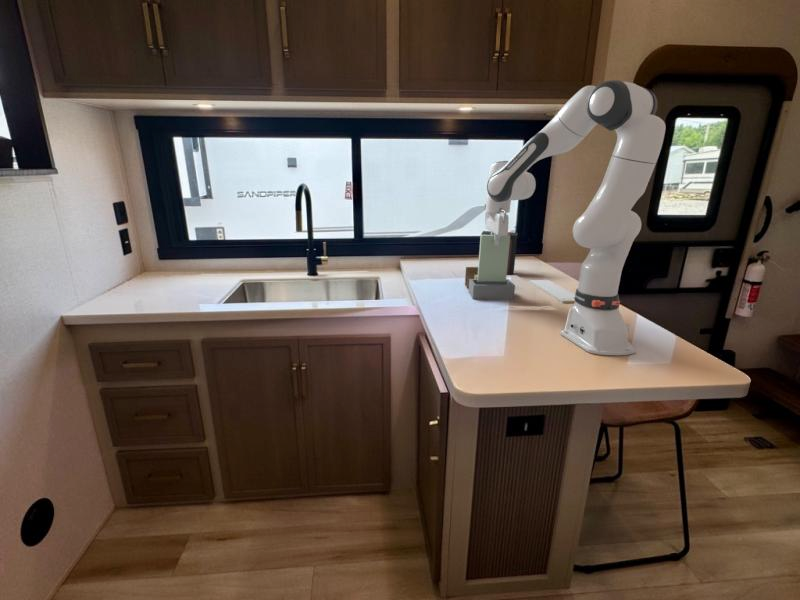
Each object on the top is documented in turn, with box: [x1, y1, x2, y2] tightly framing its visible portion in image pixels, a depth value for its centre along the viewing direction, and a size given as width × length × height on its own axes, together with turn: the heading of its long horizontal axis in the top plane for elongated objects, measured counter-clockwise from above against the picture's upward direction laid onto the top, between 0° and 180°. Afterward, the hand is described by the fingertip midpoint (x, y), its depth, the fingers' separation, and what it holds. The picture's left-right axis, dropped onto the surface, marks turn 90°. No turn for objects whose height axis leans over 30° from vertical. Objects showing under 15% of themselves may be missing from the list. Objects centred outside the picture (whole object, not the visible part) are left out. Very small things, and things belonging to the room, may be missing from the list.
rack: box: [464, 266, 478, 292], centre depth 172 cm, size 10×15×10 cm, turn 92°
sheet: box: [477, 234, 510, 282], centre depth 159 cm, size 2×11×18 cm, turn 91°
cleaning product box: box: [480, 230, 519, 276], centre depth 201 cm, size 16×9×20 cm, turn 74°
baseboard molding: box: [528, 279, 575, 304], centre depth 175 cm, size 31×3×12 cm
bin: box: [467, 278, 516, 300], centre depth 163 cm, size 9×16×7 cm, turn 92°
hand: (494, 244), depth 157 cm, fingers closed on sheet, 2 cm apart
